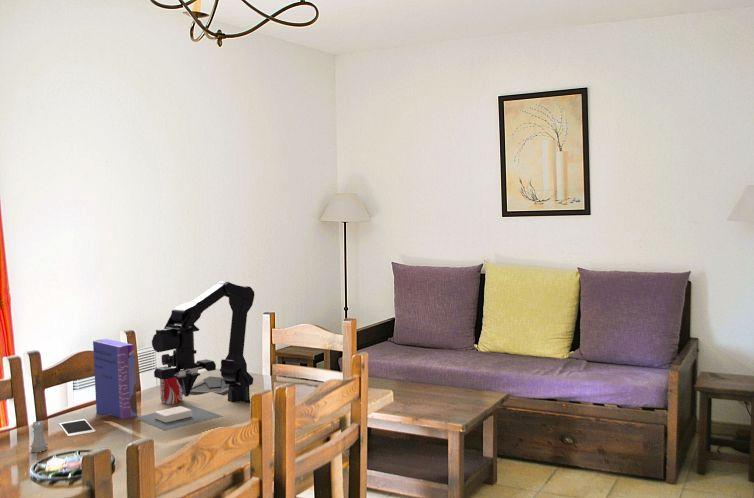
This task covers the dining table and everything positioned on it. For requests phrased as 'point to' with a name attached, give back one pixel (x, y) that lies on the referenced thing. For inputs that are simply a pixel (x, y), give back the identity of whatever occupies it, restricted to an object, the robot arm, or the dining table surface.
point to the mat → (196, 417)
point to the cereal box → (115, 378)
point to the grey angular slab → (210, 386)
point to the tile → (173, 414)
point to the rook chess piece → (38, 438)
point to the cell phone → (76, 427)
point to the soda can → (170, 391)
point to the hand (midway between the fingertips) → (186, 396)
